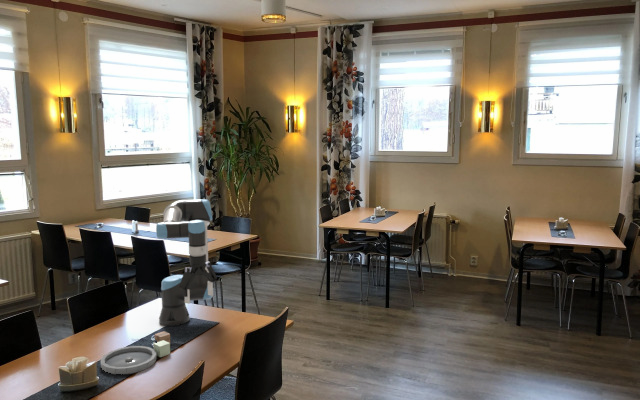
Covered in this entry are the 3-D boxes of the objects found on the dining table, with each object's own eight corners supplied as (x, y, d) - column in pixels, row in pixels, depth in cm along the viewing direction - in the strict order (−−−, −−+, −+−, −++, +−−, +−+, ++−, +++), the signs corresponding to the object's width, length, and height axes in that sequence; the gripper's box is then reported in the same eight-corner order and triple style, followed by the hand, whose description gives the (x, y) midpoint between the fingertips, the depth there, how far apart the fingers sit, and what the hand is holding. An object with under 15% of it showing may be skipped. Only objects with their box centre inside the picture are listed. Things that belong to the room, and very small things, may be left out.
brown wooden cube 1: (154, 344, 240) (154, 334, 240) (164, 341, 244) (163, 331, 243) (160, 347, 237) (160, 337, 236) (170, 344, 241) (170, 333, 240)
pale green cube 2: (154, 354, 230) (153, 343, 229) (163, 350, 234) (163, 340, 233) (160, 357, 227) (159, 346, 226) (170, 353, 230) (169, 343, 230)
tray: (91, 363, 220) (91, 357, 220) (139, 347, 237) (138, 341, 237) (117, 379, 206) (117, 373, 206) (166, 361, 223) (166, 355, 222)
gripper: (180, 261, 226) (182, 308, 229) (223, 250, 246) (224, 293, 249) (169, 258, 231) (171, 304, 234) (213, 248, 250) (214, 290, 253)
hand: (199, 299), depth 241 cm, fingers open, 13 cm apart
